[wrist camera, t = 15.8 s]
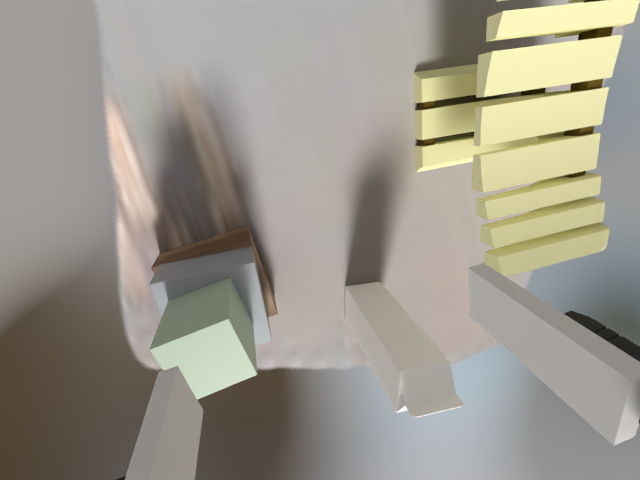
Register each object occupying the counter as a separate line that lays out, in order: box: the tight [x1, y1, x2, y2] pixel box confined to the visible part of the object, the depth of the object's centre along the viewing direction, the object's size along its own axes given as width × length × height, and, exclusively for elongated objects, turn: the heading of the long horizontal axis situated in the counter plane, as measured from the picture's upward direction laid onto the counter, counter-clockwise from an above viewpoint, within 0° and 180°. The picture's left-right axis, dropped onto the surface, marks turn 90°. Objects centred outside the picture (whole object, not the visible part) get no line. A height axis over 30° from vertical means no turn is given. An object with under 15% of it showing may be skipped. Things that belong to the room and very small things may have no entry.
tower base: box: [152, 226, 278, 317], centre depth 43 cm, size 12×12×5 cm
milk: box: [345, 282, 463, 418], centre depth 42 cm, size 6×6×22 cm
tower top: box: [149, 246, 272, 346], centre depth 39 cm, size 11×11×5 cm
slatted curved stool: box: [414, 0, 640, 277], centre depth 37 cm, size 30×16×18 cm, turn 7°
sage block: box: [150, 278, 257, 399], centre depth 32 cm, size 7×7×8 cm
